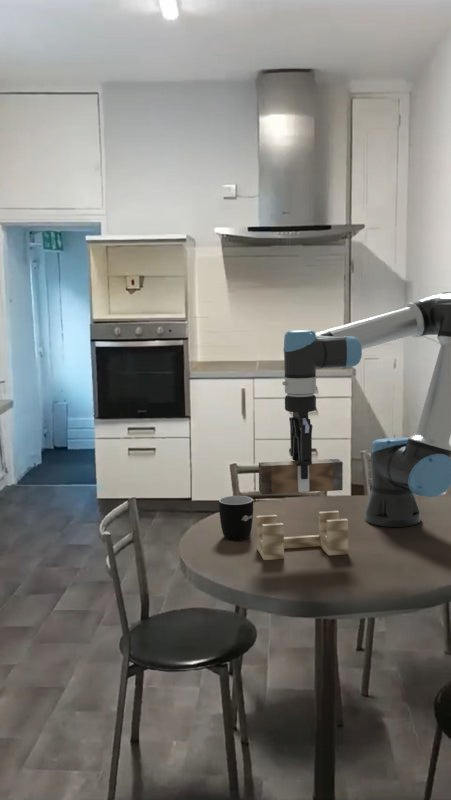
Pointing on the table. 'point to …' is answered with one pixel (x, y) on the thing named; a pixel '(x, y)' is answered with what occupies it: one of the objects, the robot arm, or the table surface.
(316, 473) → the brown rectangular block
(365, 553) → the table surface
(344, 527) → the posts
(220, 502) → the mug
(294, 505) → the table surface
